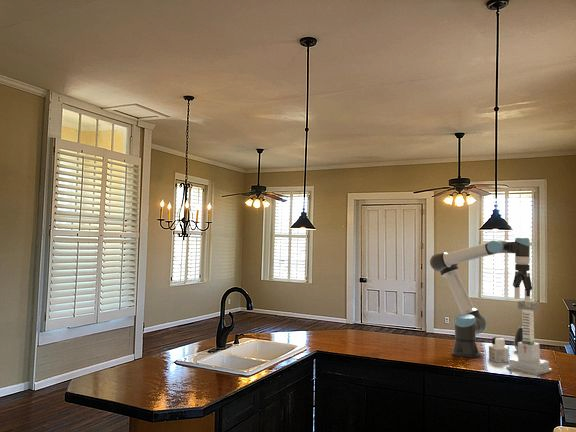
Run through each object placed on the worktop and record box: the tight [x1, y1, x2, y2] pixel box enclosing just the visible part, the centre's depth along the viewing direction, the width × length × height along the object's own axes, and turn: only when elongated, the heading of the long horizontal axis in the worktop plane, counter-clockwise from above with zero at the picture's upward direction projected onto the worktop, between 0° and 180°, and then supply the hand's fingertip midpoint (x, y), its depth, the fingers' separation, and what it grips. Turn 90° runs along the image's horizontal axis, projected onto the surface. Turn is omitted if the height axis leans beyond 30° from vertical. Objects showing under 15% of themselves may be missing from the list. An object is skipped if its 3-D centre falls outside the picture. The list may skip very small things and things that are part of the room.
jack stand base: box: [505, 341, 553, 376], centre depth 245 cm, size 16×16×15 cm
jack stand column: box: [517, 300, 539, 345], centre depth 245 cm, size 8×5×30 cm, turn 35°
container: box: [488, 336, 510, 363], centre depth 263 cm, size 8×8×13 cm
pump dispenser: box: [513, 326, 523, 352], centre depth 286 cm, size 10×10×15 cm
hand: (522, 300), depth 267 cm, fingers open, 13 cm apart
